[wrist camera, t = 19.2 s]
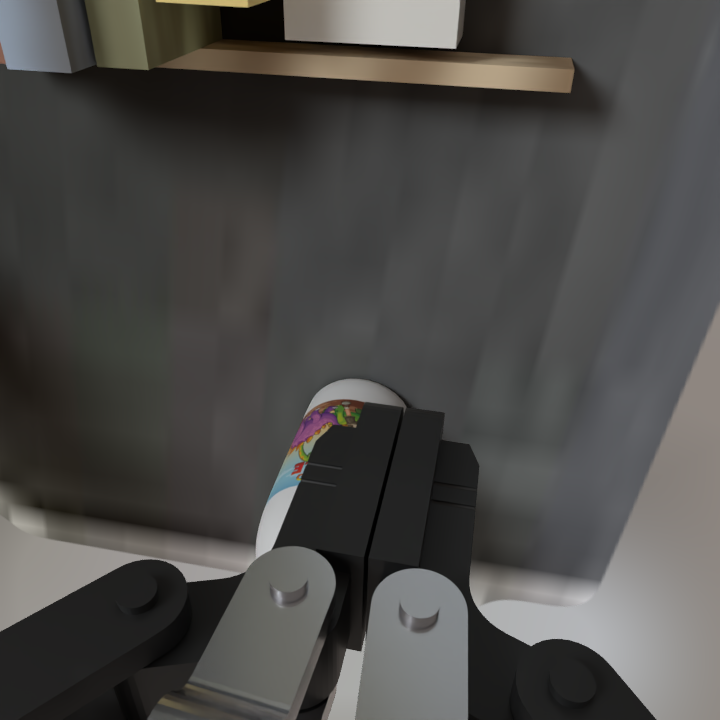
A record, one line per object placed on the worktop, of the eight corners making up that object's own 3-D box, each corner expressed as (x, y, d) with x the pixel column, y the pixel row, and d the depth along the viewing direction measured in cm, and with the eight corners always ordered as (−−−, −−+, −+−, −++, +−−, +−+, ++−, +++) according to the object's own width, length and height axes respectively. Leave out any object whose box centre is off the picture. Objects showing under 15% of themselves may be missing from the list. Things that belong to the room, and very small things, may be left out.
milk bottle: (416, 463, 49) (360, 735, 33) (315, 454, 51) (215, 708, 35) (414, 378, 45) (349, 641, 29) (304, 370, 47) (184, 616, 30)
